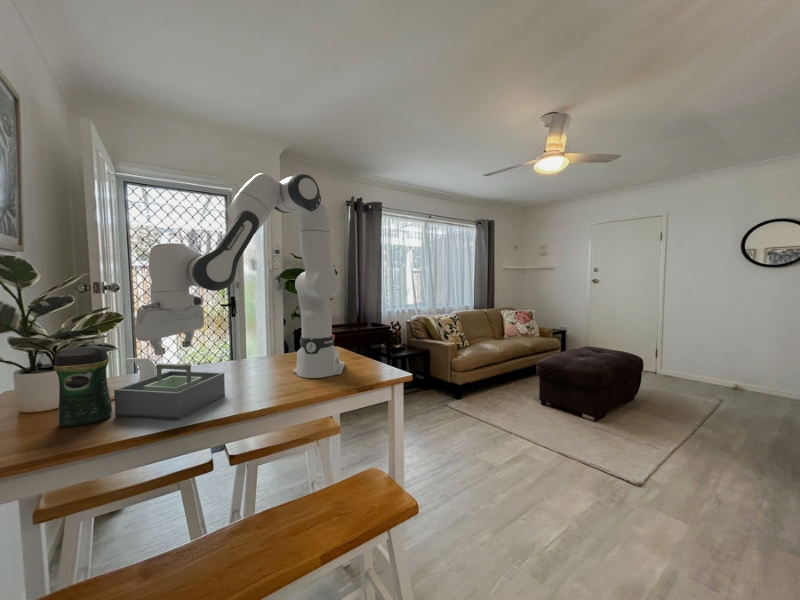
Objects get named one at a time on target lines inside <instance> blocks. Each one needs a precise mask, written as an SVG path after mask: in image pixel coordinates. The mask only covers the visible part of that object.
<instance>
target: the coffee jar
mask: <svg viewBox="0 0 800 600" xmlns="http://www.w3.org/2000/svg"><path fill="white" fill-rule="evenodd" d="M109 362H110V359H109V354H108V351H107V347H106V346H80V347H71V348H70V347H69V348H65V349H62V350H58V351H57V352H56V354H55V357H54V364H53V365H54V366H53V368H54V371H55V372H56V374H57V376H58V384H59V385H58V386H59V388H58V390H59V394H58V395H59V396H58V398H59V399H58V409H57V410H58V413H57V422H58V425H59V426H62V427H73V426H74V427H75V426H81V425H87V424H88V425H89V424H93V423H97V422H101V421H102V420H104V419H107V418H109V417H110V416H111V414H112V413H113V408H112V401H111V395H110V391H109V387H108V380H107V366H108V365H109Z"/></svg>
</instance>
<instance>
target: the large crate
mask: <svg viewBox="0 0 800 600" xmlns="http://www.w3.org/2000/svg"><path fill="white" fill-rule="evenodd" d="M161 373H162V379H165V378H167V377H170V376H187V375H186V370H169V371H165V372H161ZM191 377H202V382H200V383H197V384H195V385H193V386H190V387H188V388H186V389H183V390H181V391H179V392H166V391H148V390H144V386H145V385H148V384H151V383H154V382H156V381H157V375H156V376H153V377H150V378H148V379H145V380H142V381H139V380H138V381H136V382H133V383H130V384H127V385H124V386H121V387H119V388H115V389H114V390H113V392H114V393H113V395H114V397H113V398H114V414H115V417H117V418H118V417H120V418H136V419H137V418H139V419H152V420H163V421H164V420H166V421H167V420H168V421H180V420H183V419H184V418H186V417H188V416H190V415H192V414H194V413H195V412H197V411H199V410H200V409H203V408H204V407H206V406H209V405H210V404H212V403H214V402H216V401H217V400H219V399H221V398H223V397H225V396H226V391H225V390H226V389H225V388H226V387H225V386H226V385H225V373H224V372H213V371H212V372H211V371H210V372H209V371H191Z"/></svg>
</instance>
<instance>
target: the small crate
mask: <svg viewBox="0 0 800 600" xmlns="http://www.w3.org/2000/svg"><path fill="white" fill-rule="evenodd" d="M191 365H192V364H184V363H183V364H181V363H156V365H155V367H156V372H157V381H156V382H154V383H151V384H148V385H145V386H144V390H148V391H166V392H179V391H181V390H183V389H186V388H188V387H190V386H193V385H195V384H197V383H200V382H202V377H191V372H192V366H191ZM162 370H173V371H186V375H187V376H170V377H167V378H165V379H162V373H163V372H162Z"/></svg>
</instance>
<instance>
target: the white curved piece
mask: <svg viewBox="0 0 800 600" xmlns="http://www.w3.org/2000/svg"><path fill="white" fill-rule="evenodd" d="M125 362H133V363H134V364H135V365H137V367H138V369H139V380H138V382H139V381H142V380H145V379H148V378H150V377H153V376H156V375H157V369H156V365H155V363H154V362H153V360H151V359H150V358H148V357H147V358H146V357H136V358H135V357H127V358H125Z"/></svg>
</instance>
